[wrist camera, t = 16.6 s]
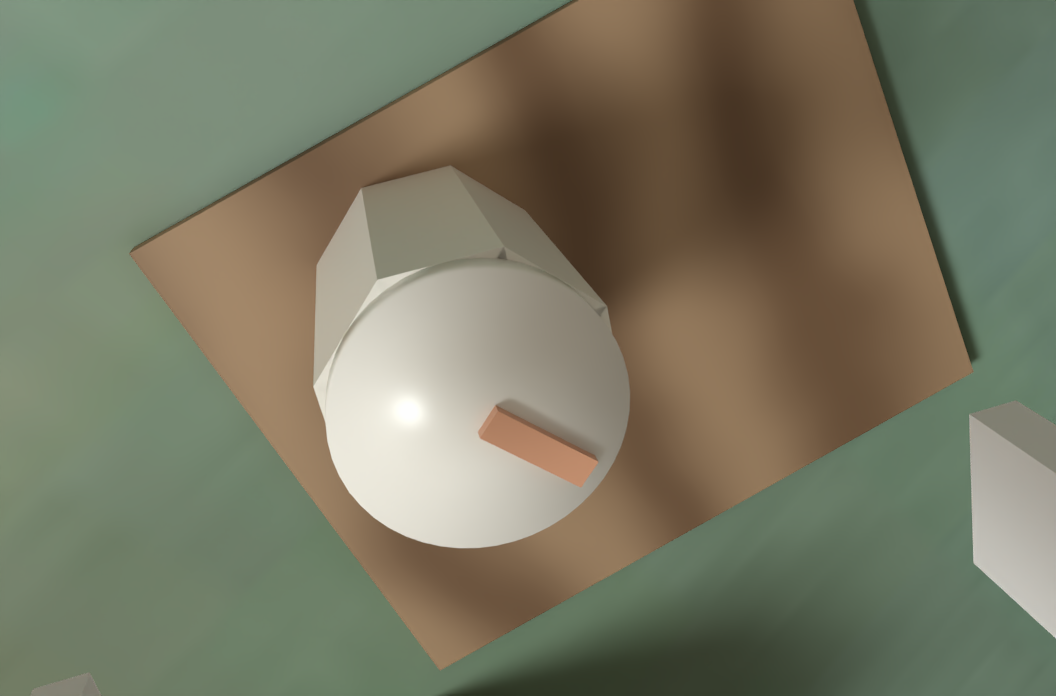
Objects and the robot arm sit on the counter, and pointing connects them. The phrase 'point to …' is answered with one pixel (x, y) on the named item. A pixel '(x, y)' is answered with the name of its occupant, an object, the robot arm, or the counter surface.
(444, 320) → the lidded container
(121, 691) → the counter surface
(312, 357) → the board
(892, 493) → the counter surface
